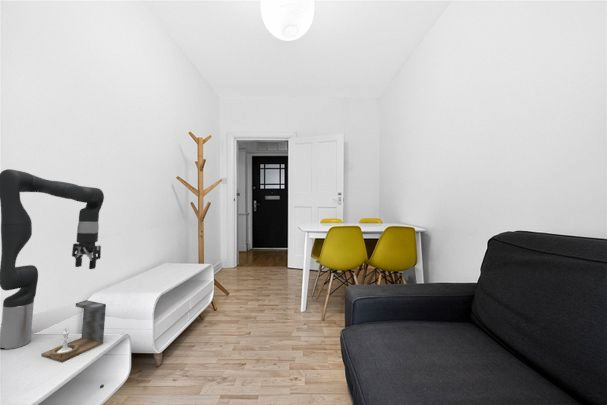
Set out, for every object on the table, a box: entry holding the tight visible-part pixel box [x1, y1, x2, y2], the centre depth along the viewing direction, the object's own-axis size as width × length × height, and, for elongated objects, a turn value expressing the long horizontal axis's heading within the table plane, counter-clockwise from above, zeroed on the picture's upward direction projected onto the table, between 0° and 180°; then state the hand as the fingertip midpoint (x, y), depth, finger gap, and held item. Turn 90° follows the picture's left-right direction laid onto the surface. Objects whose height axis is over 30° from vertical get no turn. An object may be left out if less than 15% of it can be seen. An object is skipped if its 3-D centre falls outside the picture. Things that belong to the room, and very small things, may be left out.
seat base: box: [40, 300, 107, 363], centre depth 115 cm, size 12×16×18 cm
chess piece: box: [57, 327, 72, 353], centre depth 111 cm, size 5×5×10 cm
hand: (85, 267), depth 122 cm, fingers open, 8 cm apart
